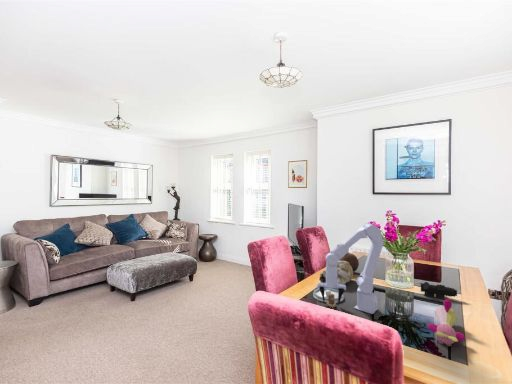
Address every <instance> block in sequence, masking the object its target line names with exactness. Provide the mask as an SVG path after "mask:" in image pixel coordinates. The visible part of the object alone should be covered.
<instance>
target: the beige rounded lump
mask: <svg viewBox="0 0 512 384" xmlns="http://www.w3.org/2000/svg"><path fill="white" fill-rule="evenodd" d="M353 276H354V272H353V269H352V267H351V265H350V264H349V263H348V262H347V261H338V264H337V284H341V285H346V284H347V283H349V282H351V280H352V279H353ZM319 283H326V269H324V270H322V271H321V272H320V273H319Z"/></svg>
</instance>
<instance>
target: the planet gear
mask: <svg viewBox="0 0 512 384" xmlns="http://www.w3.org/2000/svg"><path fill="white" fill-rule="evenodd" d="M328 306H329V307H330V308H331V307H332V308H331V309H334V308H335V307H336V308H337V303H334V294H328V302H327V303H326V307H328ZM329 307H328V308H329ZM333 307H334V308H333Z"/></svg>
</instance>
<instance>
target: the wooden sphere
mask: <svg viewBox="0 0 512 384" xmlns="http://www.w3.org/2000/svg"><path fill="white" fill-rule="evenodd" d="M338 261H347V262H348V263H349V264H350V265H351V267H352V269H353V273H355V272H356V271H357V270H358V269H359V266H360V265H359V264H360V263H359V262H360V261H359V259H358V257H357V256H356V255H355V254H354V253H352V252H348V253H347V254H345V255H344V256H343V257H342V258H341V259H340V260H338Z"/></svg>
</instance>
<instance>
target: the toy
mask: <svg viewBox="0 0 512 384" xmlns="http://www.w3.org/2000/svg"><path fill="white" fill-rule="evenodd" d="M452 304H453V303H452V300H450V299H443V304H442V305H439V306H437V308H435V310H434V316H435V318H436V319H437V321H438V323H439V325H437V324H435V323H429V324H428V325H427V328H428V329H429V331H431V332H433V333H434V334H435V335H436V337H437V339H438V343H440V344H442V345H443V344H445V345H446V346H448V347H451V346H452V344H454V343H457V342H463V341H466V336H465V334H463V333H462V332H460V331H459V332H458V331H455V328H453V327H454V325H455V324H456V322H457V320H458V319H457V318H458V315H457V313H456V311H455V309H453V308H451V307H452Z"/></svg>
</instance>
